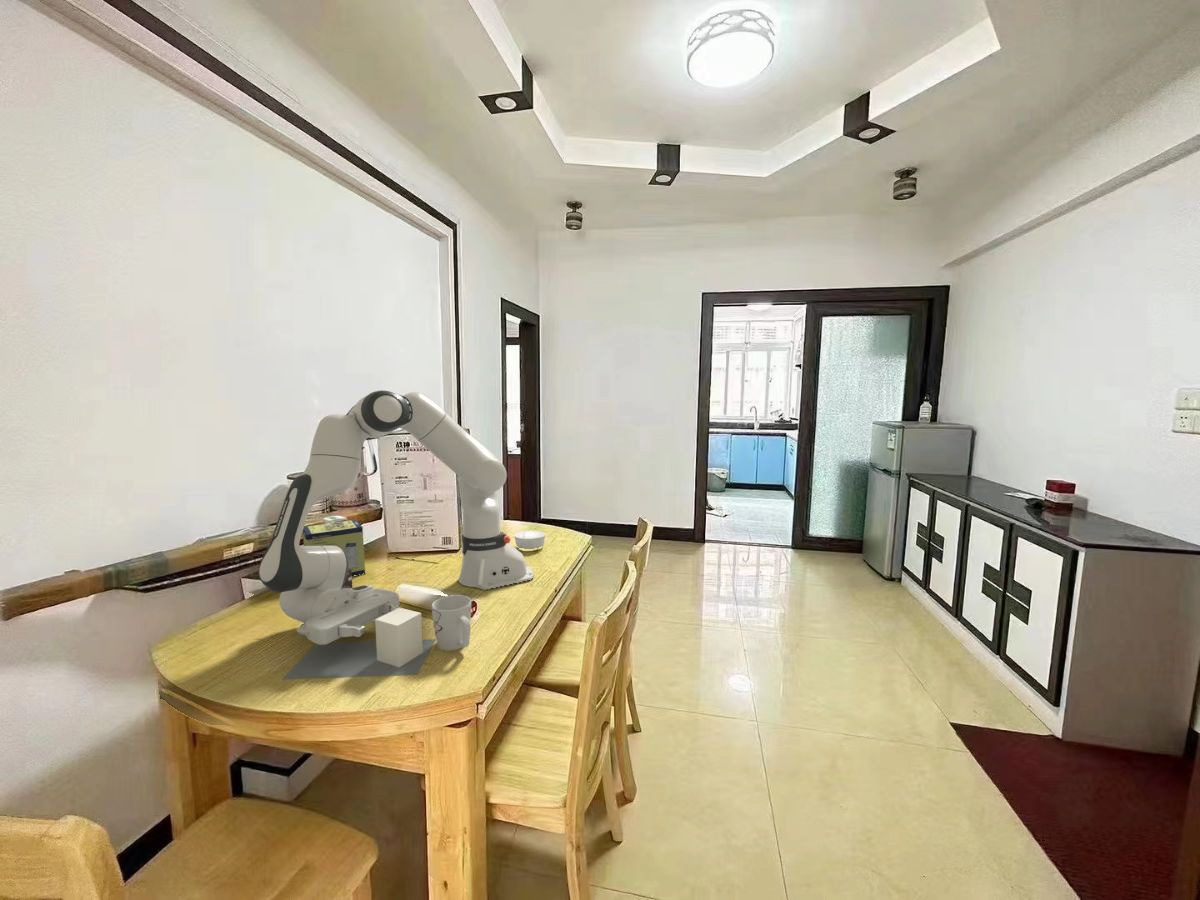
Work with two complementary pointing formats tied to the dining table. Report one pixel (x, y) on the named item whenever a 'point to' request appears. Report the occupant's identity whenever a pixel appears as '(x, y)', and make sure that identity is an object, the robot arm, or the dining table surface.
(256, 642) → the dining table surface
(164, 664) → the dining table surface
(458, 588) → the dining table surface
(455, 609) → the mug
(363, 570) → the protein box
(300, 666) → the slate mat
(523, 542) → the ramekin
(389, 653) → the white upright block
